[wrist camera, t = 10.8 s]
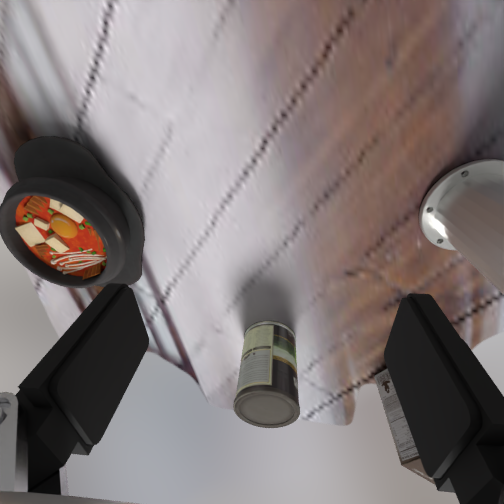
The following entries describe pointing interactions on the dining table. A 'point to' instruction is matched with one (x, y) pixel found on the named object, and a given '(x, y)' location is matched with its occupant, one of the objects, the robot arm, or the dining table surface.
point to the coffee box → (399, 426)
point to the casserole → (70, 217)
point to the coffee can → (268, 377)
